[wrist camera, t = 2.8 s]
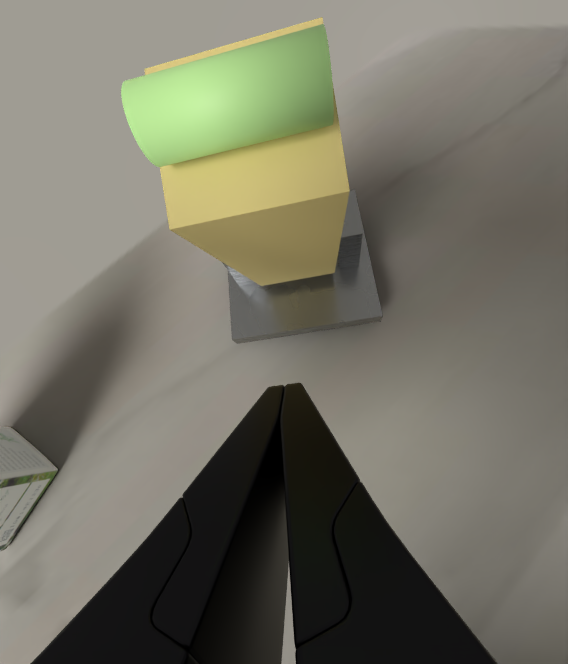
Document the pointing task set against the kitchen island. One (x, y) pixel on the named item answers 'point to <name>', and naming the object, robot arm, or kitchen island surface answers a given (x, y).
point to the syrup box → (19, 481)
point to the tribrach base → (310, 293)
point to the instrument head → (249, 151)
